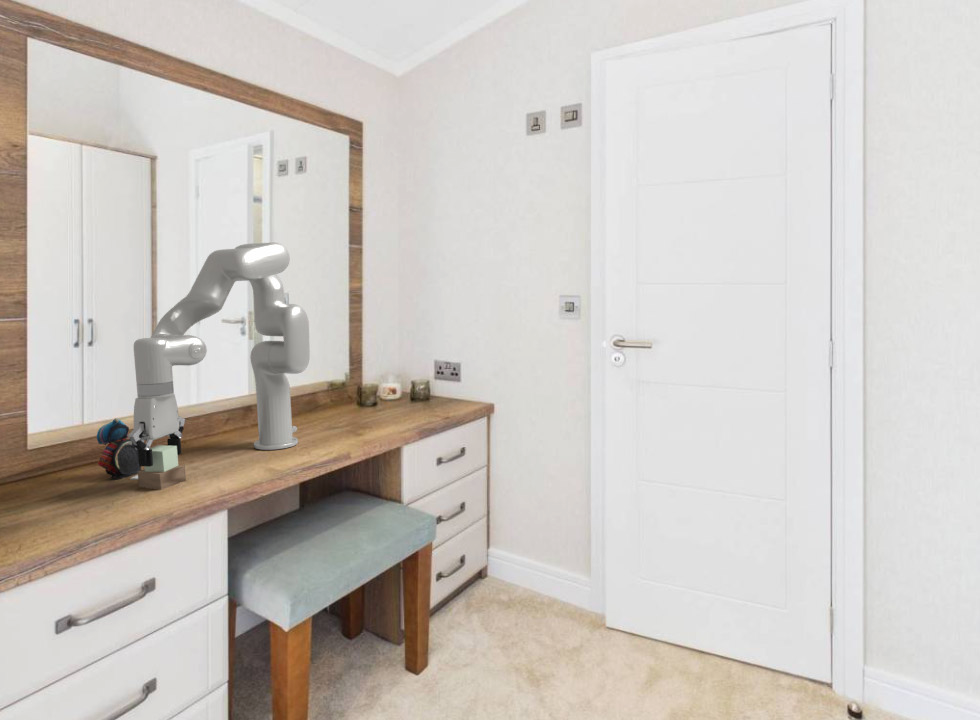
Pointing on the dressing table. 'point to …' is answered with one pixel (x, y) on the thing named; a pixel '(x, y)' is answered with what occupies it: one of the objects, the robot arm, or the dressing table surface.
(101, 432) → the figurine
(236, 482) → the dressing table surface
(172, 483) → the walnut base
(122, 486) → the dressing table surface
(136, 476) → the tile
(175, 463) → the sage cube
